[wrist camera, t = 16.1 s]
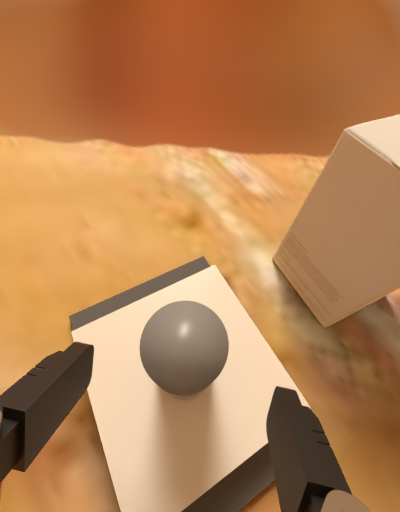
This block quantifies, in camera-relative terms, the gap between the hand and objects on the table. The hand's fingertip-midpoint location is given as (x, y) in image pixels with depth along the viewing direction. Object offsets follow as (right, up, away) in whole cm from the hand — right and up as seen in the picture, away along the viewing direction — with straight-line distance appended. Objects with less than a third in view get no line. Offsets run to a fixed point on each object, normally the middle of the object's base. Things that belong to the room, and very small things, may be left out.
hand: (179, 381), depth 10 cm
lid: (0, -4, +9) cm, 10 cm away
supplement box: (+15, +3, +16) cm, 22 cm away
